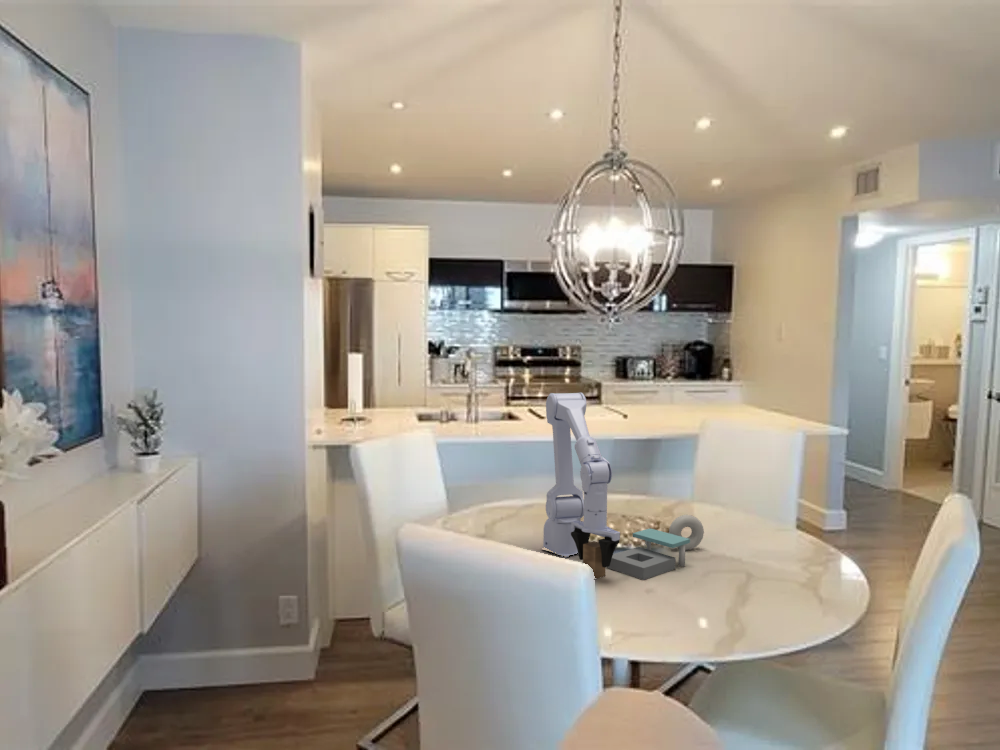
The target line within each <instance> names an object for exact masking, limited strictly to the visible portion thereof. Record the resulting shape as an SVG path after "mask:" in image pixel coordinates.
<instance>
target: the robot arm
mask: <svg viewBox="0 0 1000 750" xmlns="http://www.w3.org/2000/svg"><path fill="white" fill-rule="evenodd" d="M586 410H587V398H586V396H585V395H584V393H583V392H581V391H580V392H573V393H571V392H570V393H568V392H567V393H566V392H563V393H560V392H559V393H553V392H550V393H549V394H548V396H547V398H546V401H545V411H546V412H545V413H546V416H545V417H546V423H547V424H549V425H551V427H552V441H553V457H554V471H555V474H554V476H555V484H554V485H553V487H552V488H551V489H549V490H548V491H547V492H546V500H545V501H546V502H545V513H546V517H547V519H546V521H545V522H544V524H543V538H542V539H543V541H542V542H543V544H542V545H543V546H542V548H543V547H545V548H547V549H549V550H551V551H553V553H555V552H556V554H558V555H562V556H560V557H561V558H569V555H573V556H575V555H574V554H577V553H578V554H577V555H578V558H579V560H581V561H583V544H585V543H589V542H590V538H591V534H592V535H595V536H599V537H602V539H599V540H598V542H599V544H600V548H601V555H602V567H604V568H605V567H608V566H610V562H611V559H612V556H613V554H615V553H614V552H615V551H616V548H617V546H618V545H619V543H620V542H621V541H620V540H621V532H620V531H619V530H618V531H617V530H616V529H613V528H611V527H610V526H608V525H607V519H608V517H607V516H608V485H609V484H610V483H611V482H612V481H611V480H612V477H613V470H612V467H611V463H610V461H609V460H607V459H606V458H605V457H603V455H602V454H601V450H600V448H599V446H598V445H599V444H598V443H597V440H596V438H594V437H593V436H592V437H591V436H590V433H589V429H588V425H587V421H586V418H585V417H586V416H585V415H586ZM571 432H572V434H573V436H574V438H575V440H576V442H575V444H574V450H575V452H576V454H577V455H576V456H577V458H578V461H579V464H580V466H581V467H580V471H579V472H580V474H579V475H580V480H581V484H582V485H581V488H582V489H580V488H579V487H577V486H576V485H575V483H574V470H573V469H574V468H573V452H572V437H571V435H572V434H571ZM568 495H569V496H568ZM582 519H583V520H582ZM581 520H582V521H581ZM558 555H557V556H558ZM563 556H566V557H563Z"/></svg>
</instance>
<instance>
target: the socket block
mask: <svg viewBox="0 0 1000 750" xmlns="http://www.w3.org/2000/svg"><path fill="white" fill-rule="evenodd" d="M606 569H609V570H612V571H616V572H618V573H622V574H625V575H627V576H631V577H633V578H637V579H639V580H642V581H645V580H648V579H651V578H653V577H656V576H659V575H662V574H666V573H668V572H670V571H674V570H676V557H674V556H672V555H668V554H665V553H662V552H658V551H655V550H652V549H651V550H648V549H645V547H640V546H637V547H634V548H630V549H627V550H626V549H625V550H624V551H619V552H617V553H613V556H612V559H611V562H610V566H608V567H607V568H606ZM673 569H674V570H673Z"/></svg>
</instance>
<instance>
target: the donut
mask: <svg viewBox="0 0 1000 750" xmlns="http://www.w3.org/2000/svg"><path fill="white" fill-rule="evenodd" d="M685 528H689V529H691V532H690V535H689V536H687V537H686V538H688V539H690V543H688V544H685V551H689V550H692V549H693V550H694V549H695V548H696V547H698V546H699V545H700V544H701V542H702V540H703V539H704V534H705V532H704V526H703V524H702V521H700V520H699V518H698V517H696V516H693V515H691V514H683V515H680V516H677V517H676V518H675V519H674V520H673V521H672V522H671V524H670V526H669V529H668V533H670V534H673V535H677V536H681V537H683V536H682V531H683V529H685ZM676 548H678V549H679V546H678V547H676Z"/></svg>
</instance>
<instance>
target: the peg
mask: <svg viewBox="0 0 1000 750" xmlns="http://www.w3.org/2000/svg"><path fill="white" fill-rule="evenodd" d="M583 563H585V564H588V565H589V566H590V567H591V568H592V569H593V572H594V576H595V578H597V579H600V577H601V578H603V576H604V577H606V571H607V570H606V569H607V568H606V567H605V568H604V567H602V555H601V548H600V544H599V541H595V540H593V541H589V542H588V543H585V544H583V560H582V564H583ZM597 579H596V580H597Z"/></svg>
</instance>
